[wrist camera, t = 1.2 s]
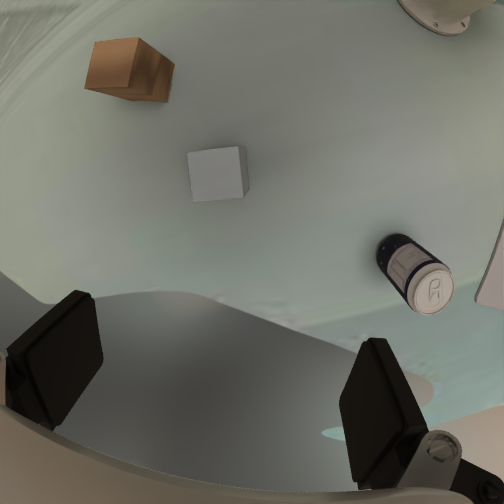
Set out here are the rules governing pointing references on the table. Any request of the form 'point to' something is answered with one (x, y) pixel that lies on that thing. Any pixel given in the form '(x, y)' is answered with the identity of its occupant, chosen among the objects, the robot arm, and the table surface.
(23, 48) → the table surface
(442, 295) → the beverage can
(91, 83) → the walnut block
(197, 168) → the slate block
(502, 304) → the laptop
